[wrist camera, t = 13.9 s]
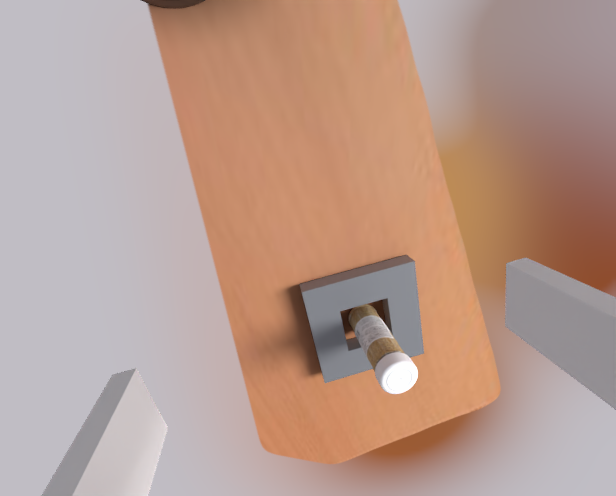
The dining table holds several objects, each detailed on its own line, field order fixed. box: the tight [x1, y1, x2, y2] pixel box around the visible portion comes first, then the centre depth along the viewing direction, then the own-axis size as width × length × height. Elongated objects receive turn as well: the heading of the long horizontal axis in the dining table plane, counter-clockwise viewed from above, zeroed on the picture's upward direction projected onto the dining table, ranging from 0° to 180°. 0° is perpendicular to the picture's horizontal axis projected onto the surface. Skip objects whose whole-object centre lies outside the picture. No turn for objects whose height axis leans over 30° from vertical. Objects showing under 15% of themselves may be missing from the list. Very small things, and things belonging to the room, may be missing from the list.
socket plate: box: [299, 255, 424, 383], centre depth 47 cm, size 16×16×2 cm
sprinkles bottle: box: [348, 304, 418, 394], centre depth 42 cm, size 5×5×14 cm
